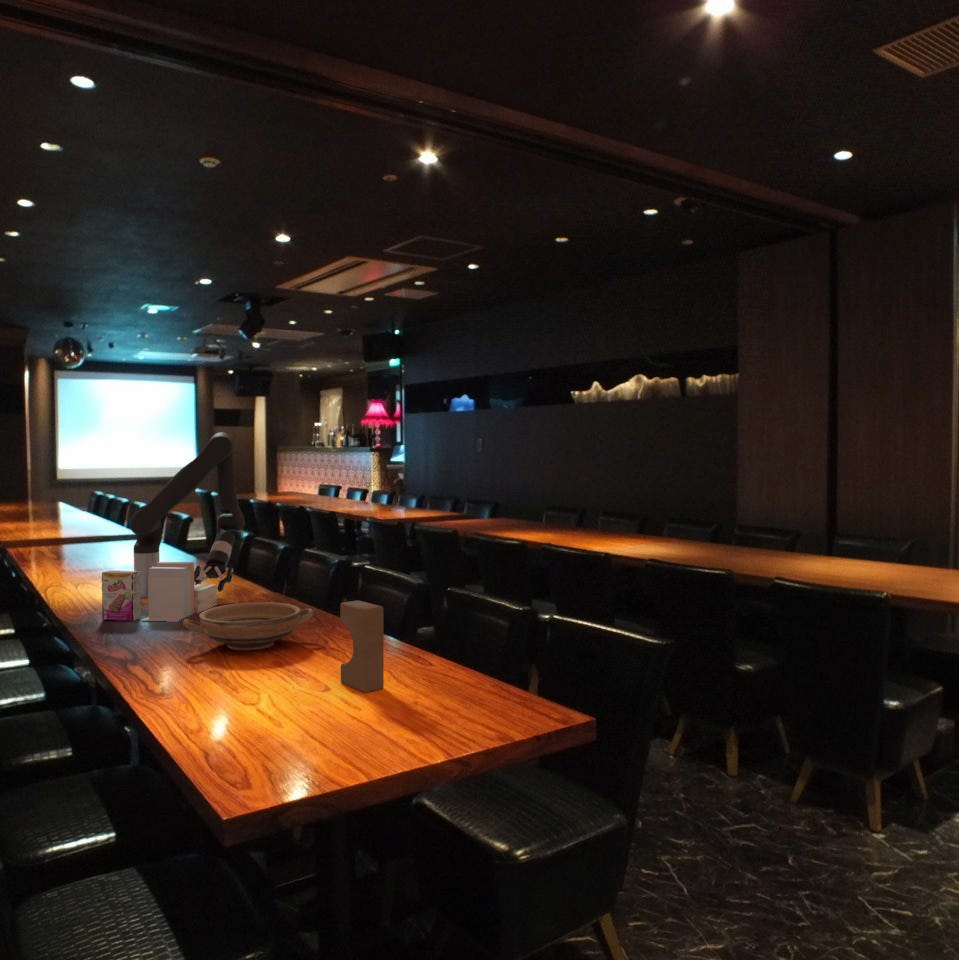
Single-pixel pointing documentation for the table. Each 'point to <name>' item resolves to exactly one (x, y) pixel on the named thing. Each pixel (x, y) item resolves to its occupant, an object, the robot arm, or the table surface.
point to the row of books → (170, 591)
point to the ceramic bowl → (249, 623)
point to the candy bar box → (121, 595)
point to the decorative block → (364, 646)
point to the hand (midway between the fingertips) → (207, 590)
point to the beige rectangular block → (205, 596)
